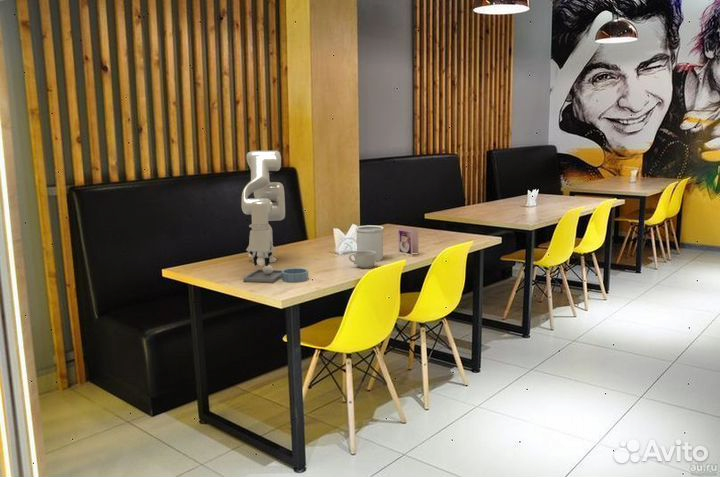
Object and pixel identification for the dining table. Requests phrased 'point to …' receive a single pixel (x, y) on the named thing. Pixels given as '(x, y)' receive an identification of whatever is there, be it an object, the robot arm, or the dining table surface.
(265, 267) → the pebble
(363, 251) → the teacup
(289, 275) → the bowl
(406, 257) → the dining table surface
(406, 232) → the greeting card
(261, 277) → the parts tray
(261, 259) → the pebble
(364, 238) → the utensil holder
